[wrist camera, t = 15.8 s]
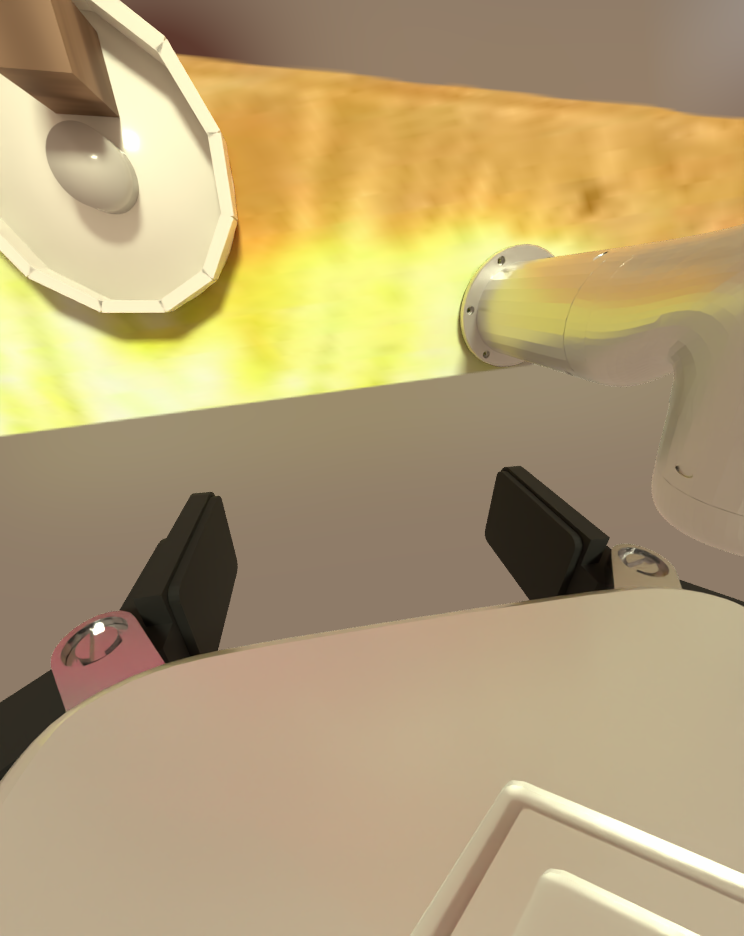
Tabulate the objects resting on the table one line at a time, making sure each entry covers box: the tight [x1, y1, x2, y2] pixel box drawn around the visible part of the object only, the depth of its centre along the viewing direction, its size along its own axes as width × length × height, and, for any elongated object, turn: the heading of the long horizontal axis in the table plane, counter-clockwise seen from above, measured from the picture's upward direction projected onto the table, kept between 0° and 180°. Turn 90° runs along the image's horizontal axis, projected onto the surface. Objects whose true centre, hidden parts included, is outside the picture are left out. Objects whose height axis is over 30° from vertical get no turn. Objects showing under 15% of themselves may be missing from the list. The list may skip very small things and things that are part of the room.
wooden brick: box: [0, 0, 120, 118], centre depth 22 cm, size 4×4×6 cm
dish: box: [0, 0, 238, 313], centre depth 26 cm, size 20×20×4 cm
